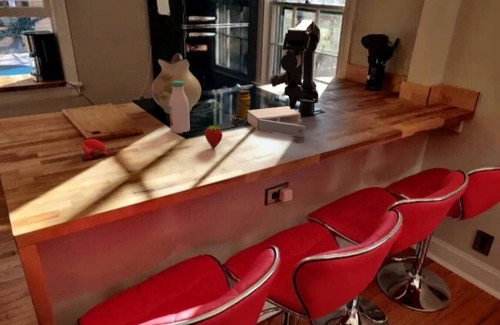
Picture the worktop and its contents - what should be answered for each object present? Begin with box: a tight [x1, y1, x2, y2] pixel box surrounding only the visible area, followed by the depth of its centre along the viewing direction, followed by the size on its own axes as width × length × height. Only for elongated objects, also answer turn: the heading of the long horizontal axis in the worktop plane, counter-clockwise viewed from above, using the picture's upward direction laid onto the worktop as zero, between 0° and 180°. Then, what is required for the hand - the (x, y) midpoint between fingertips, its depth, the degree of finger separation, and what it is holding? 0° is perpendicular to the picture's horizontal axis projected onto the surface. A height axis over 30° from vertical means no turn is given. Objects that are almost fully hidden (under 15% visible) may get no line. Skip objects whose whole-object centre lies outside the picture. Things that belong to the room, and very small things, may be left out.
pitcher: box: [151, 52, 202, 115], centre depth 172 cm, size 22×24×25 cm
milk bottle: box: [169, 81, 191, 134], centre depth 149 cm, size 8×8×20 cm
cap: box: [81, 138, 108, 159], centre depth 128 cm, size 8×6×6 cm
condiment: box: [229, 89, 251, 121], centre depth 168 cm, size 7×8×12 cm
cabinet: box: [246, 105, 301, 130], centre depth 163 cm, size 20×11×5 cm, turn 113°
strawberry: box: [204, 121, 223, 149], centre depth 135 cm, size 6×8×10 cm
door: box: [256, 119, 306, 138], centre depth 150 cm, size 20×2×5 cm, turn 68°
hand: (291, 108), depth 139 cm, fingers closed
